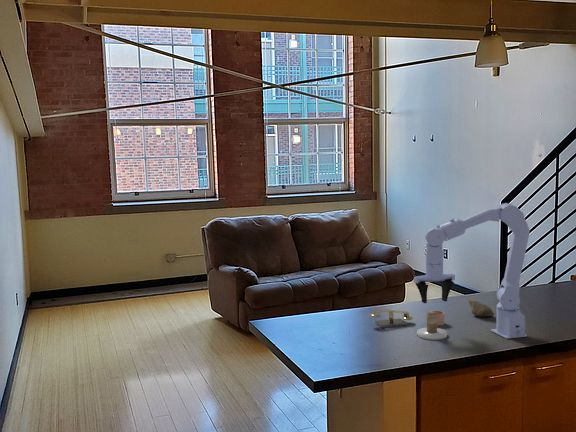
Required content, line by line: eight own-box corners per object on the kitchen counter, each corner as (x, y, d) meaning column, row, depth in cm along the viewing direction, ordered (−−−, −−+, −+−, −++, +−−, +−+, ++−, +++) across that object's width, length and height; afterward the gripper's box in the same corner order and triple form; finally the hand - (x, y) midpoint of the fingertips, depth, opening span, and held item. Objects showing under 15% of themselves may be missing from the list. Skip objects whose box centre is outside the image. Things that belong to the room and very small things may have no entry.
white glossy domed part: (452, 338, 196) (452, 334, 196) (425, 341, 194) (425, 337, 194) (438, 329, 206) (438, 326, 206) (411, 332, 204) (411, 329, 204)
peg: (438, 332, 199) (438, 313, 198) (429, 333, 198) (429, 314, 197) (434, 329, 202) (434, 311, 201) (425, 330, 201) (424, 312, 201)
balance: (416, 324, 213) (416, 307, 212) (372, 328, 209) (372, 311, 208) (408, 320, 219) (408, 303, 218) (366, 324, 215) (366, 307, 214)
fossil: (490, 305, 215) (467, 295, 222) (484, 314, 214) (461, 304, 221) (496, 316, 221) (473, 306, 228) (491, 325, 220) (467, 315, 227)
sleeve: (447, 324, 211) (447, 313, 211) (433, 326, 210) (433, 315, 210) (439, 320, 217) (439, 310, 216) (425, 322, 216) (425, 311, 215)
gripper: (447, 259, 208) (447, 297, 209) (409, 262, 204) (410, 300, 206) (458, 263, 201) (457, 302, 202) (419, 266, 197) (419, 305, 199)
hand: (434, 301), depth 203 cm, fingers open, 7 cm apart
